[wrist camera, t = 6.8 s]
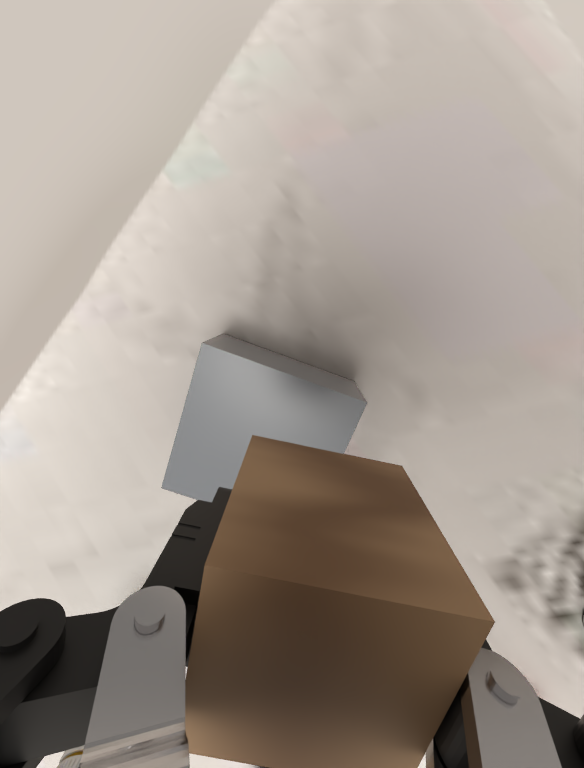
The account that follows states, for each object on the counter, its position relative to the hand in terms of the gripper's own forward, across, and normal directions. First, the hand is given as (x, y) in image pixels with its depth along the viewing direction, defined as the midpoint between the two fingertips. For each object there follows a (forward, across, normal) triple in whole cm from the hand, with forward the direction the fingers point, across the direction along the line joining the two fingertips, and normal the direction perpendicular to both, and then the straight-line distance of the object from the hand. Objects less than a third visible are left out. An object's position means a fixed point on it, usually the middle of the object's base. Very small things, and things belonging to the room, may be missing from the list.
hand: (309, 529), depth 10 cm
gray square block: (+18, +3, +4) cm, 18 cm away
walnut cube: (+1, 0, 0) cm, 1 cm away
